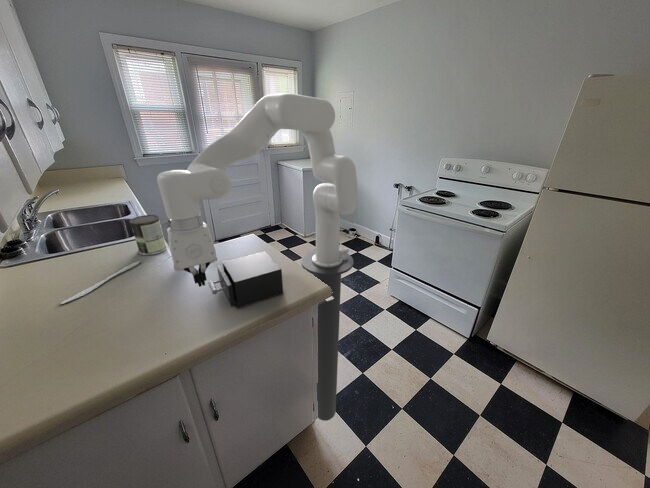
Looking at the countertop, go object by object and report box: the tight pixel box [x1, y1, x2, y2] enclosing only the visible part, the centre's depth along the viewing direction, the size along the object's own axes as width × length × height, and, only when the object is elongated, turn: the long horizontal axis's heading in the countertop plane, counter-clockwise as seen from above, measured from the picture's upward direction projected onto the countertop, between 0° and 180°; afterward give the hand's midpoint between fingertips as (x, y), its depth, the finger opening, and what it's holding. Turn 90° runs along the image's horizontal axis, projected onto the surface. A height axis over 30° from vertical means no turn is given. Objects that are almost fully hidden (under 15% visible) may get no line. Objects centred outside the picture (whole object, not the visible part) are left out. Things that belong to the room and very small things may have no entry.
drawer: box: [207, 265, 236, 307], centre depth 86 cm, size 18×13×7 cm
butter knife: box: [60, 261, 140, 305], centre depth 93 cm, size 1×27×3 cm
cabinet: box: [221, 251, 284, 309], centre depth 88 cm, size 15×15×9 cm
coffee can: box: [129, 214, 168, 256], centre depth 113 cm, size 10×10×14 cm
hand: (201, 283), depth 75 cm, fingers closed
